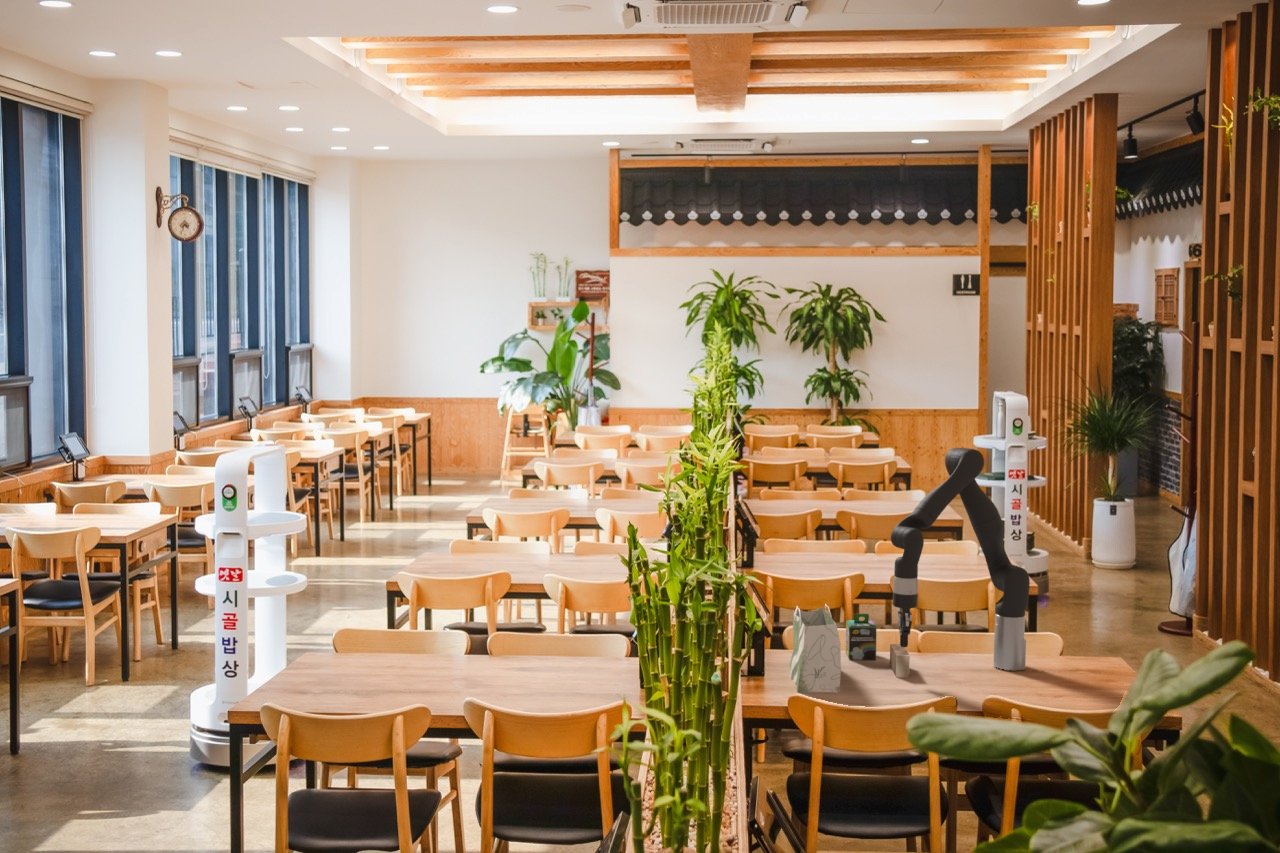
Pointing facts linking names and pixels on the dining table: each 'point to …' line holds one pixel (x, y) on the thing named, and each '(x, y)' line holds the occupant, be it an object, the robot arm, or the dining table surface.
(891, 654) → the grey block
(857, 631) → the chalk box
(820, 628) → the grocery bag
